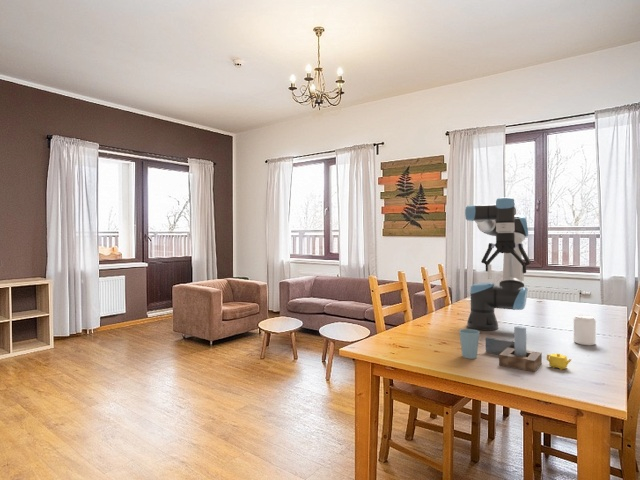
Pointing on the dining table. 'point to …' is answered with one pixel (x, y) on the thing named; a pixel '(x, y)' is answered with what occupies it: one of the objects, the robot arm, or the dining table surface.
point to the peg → (520, 340)
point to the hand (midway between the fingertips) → (505, 279)
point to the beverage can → (584, 330)
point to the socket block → (520, 359)
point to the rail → (497, 345)
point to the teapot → (558, 361)
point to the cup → (469, 343)
